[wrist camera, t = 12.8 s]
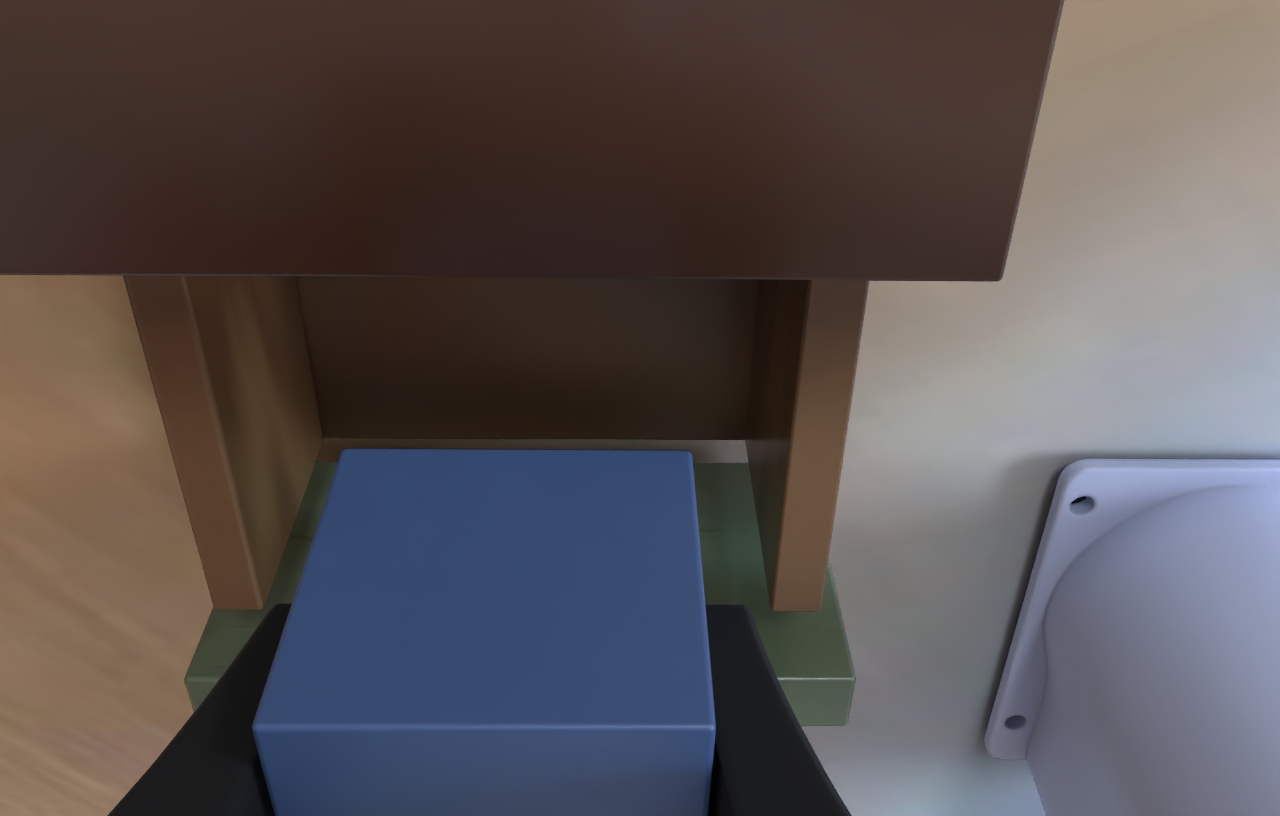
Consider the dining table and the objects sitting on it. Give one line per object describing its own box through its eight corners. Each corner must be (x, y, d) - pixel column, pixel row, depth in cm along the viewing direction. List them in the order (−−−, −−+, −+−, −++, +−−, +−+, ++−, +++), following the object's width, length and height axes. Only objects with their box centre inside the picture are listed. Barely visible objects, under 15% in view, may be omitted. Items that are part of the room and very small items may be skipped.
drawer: (785, 650, 27) (821, 877, 22) (311, 649, 26) (243, 879, 22) (886, -146, 17) (989, -50, 12) (140, -158, 17) (-51, -63, 12)
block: (679, 685, 15) (695, 977, 12) (379, 684, 15) (314, 978, 12) (692, 447, 13) (716, 727, 10) (340, 445, 13) (247, 729, 10)
